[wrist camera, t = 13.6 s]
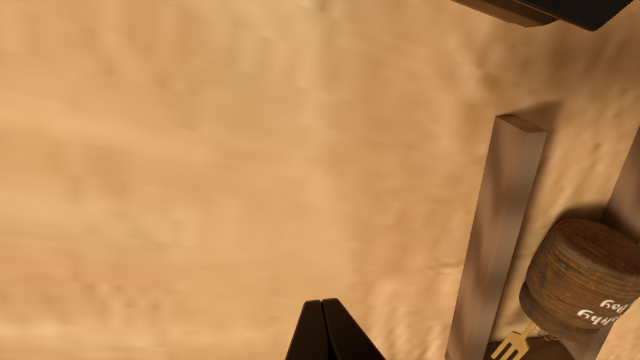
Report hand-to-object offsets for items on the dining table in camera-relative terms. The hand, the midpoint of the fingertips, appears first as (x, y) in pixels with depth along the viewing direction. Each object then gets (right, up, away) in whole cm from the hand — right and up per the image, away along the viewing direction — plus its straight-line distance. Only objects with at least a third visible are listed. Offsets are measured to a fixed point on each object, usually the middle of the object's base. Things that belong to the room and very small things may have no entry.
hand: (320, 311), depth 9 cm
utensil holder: (+18, -1, +14) cm, 23 cm away
